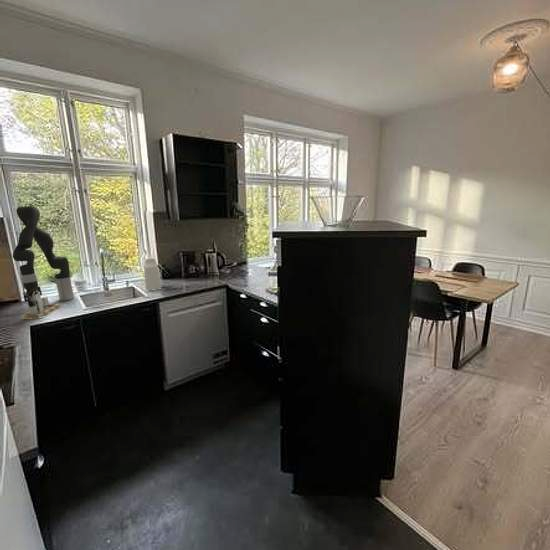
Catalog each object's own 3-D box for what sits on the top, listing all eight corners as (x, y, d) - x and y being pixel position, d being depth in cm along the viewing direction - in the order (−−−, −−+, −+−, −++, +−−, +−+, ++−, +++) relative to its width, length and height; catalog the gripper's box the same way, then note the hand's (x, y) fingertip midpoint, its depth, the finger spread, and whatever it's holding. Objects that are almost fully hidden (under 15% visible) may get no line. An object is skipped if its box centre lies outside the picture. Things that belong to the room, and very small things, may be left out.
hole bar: (42, 308, 216) (41, 304, 216) (60, 306, 218) (60, 303, 217) (21, 319, 194) (20, 316, 194) (42, 318, 196) (41, 314, 195)
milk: (146, 291, 250) (142, 260, 244) (146, 288, 260) (142, 258, 254) (161, 289, 254) (158, 259, 248) (161, 286, 265) (157, 256, 259)
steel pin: (45, 309, 213) (42, 297, 211) (51, 309, 213) (48, 296, 211) (42, 311, 209) (39, 298, 207) (48, 310, 210) (45, 298, 208)
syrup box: (30, 317, 198) (25, 296, 194) (34, 314, 203) (30, 293, 200) (40, 316, 199) (35, 295, 196) (44, 313, 205) (40, 293, 201)
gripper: (30, 278, 202) (35, 301, 205) (15, 284, 188) (22, 308, 192) (42, 277, 203) (47, 300, 207) (29, 283, 189) (35, 307, 193)
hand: (35, 304), depth 199 cm, fingers open, 8 cm apart
